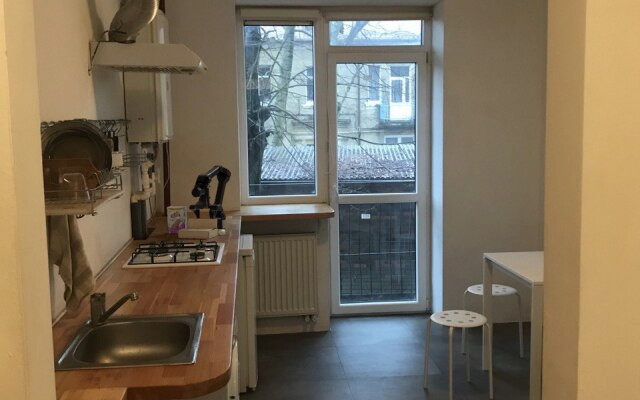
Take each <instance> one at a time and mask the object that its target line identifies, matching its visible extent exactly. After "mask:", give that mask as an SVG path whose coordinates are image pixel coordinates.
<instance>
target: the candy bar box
mask: <svg viewBox="0 0 640 400" xmlns="http://www.w3.org/2000/svg"><path fill="white" fill-rule="evenodd" d="M187 207H188V206H166V216H167V217H166V220H167V234H168V235H178V231H179V230H181V229H186V228H188V213H187V212H188V211H187V209H188V208H187Z"/></svg>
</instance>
